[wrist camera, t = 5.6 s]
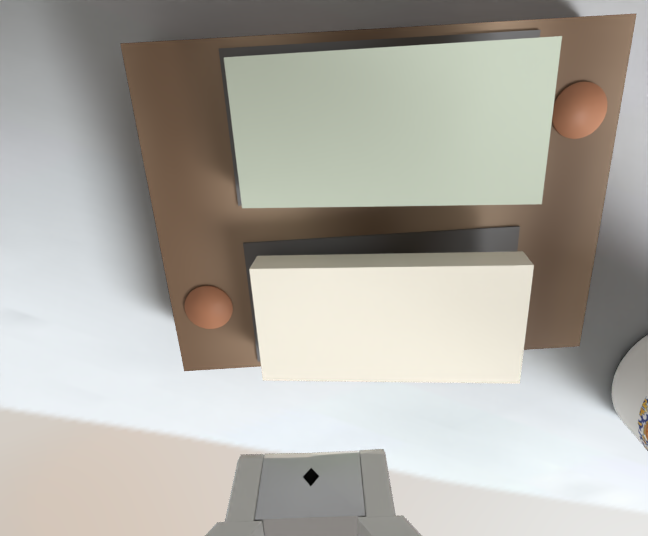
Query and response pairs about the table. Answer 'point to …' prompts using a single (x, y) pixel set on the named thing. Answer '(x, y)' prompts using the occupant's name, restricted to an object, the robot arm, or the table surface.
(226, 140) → the switch plate
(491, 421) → the table surface
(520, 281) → the block
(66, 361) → the table surface
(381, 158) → the block
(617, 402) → the bath foam
